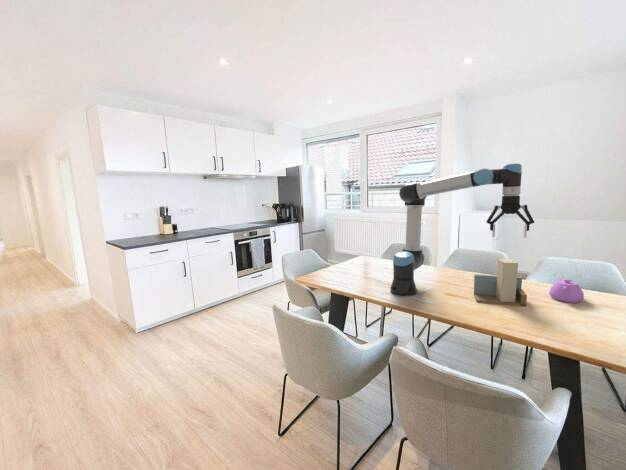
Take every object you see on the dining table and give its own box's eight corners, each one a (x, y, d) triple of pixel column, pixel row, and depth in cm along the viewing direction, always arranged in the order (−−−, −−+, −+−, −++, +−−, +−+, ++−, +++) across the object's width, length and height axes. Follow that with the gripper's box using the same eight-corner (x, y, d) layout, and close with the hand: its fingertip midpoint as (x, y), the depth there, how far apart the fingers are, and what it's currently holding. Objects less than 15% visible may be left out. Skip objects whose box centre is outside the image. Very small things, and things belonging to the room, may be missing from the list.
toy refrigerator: (517, 302, 150) (519, 262, 146) (501, 301, 151) (503, 262, 148) (510, 296, 157) (513, 258, 154) (495, 296, 159) (497, 258, 156)
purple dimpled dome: (585, 296, 157) (587, 277, 155) (581, 307, 143) (583, 286, 142) (552, 290, 167) (553, 272, 165) (546, 300, 153) (547, 281, 152)
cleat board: (476, 302, 155) (477, 280, 154) (473, 294, 166) (474, 274, 164) (526, 306, 147) (527, 283, 145) (519, 298, 158) (521, 276, 156)
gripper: (483, 196, 148) (481, 237, 151) (544, 194, 138) (540, 238, 141) (481, 196, 154) (479, 235, 158) (538, 194, 145) (535, 236, 148)
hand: (508, 237), depth 149 cm, fingers open, 13 cm apart
